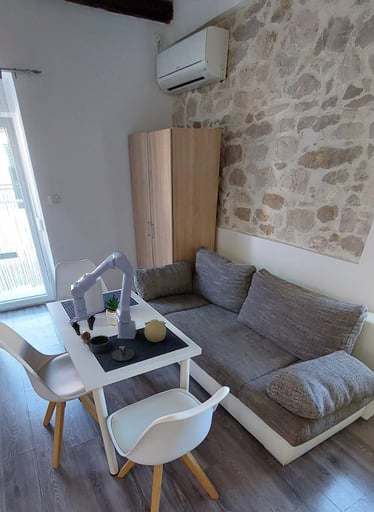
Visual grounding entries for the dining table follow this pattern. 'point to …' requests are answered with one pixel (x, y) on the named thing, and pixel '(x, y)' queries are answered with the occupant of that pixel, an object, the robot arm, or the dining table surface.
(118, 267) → the robot arm
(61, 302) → the dining table surface
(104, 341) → the pot
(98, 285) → the canister
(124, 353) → the lid
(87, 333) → the mushroom
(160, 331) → the sculpture
